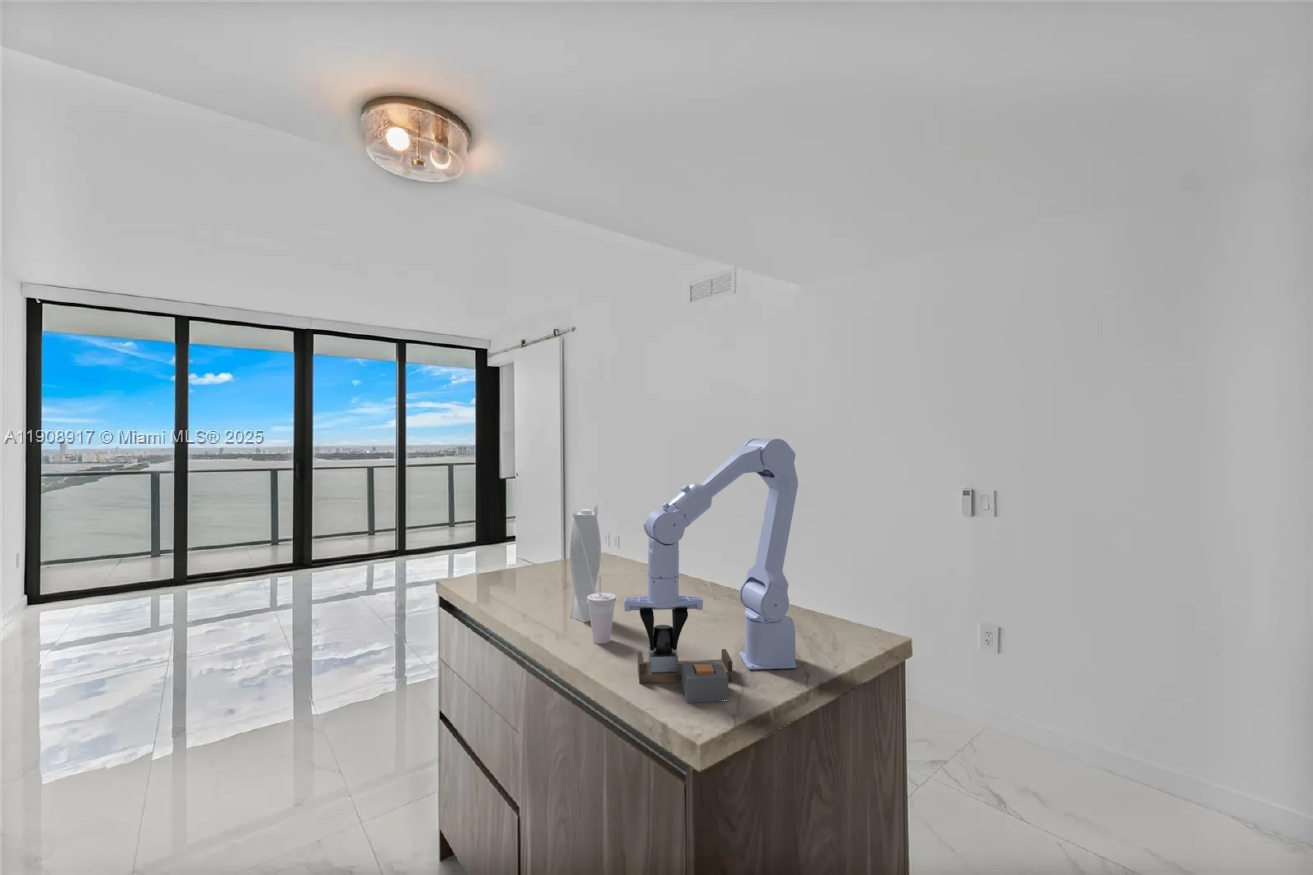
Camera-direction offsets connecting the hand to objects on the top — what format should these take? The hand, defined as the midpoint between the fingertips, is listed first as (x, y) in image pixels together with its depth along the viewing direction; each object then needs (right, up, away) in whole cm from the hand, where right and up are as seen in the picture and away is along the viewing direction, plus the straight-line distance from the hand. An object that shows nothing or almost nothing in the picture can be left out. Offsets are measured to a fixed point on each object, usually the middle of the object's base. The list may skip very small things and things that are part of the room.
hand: (663, 648), depth 106 cm
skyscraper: (-18, -5, +34) cm, 39 cm away
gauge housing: (+7, -5, -7) cm, 11 cm away
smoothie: (-13, -5, +18) cm, 23 cm away
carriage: (0, -3, 0) cm, 3 cm away
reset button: (+7, -4, -7) cm, 11 cm away
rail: (+4, -5, 0) cm, 6 cm away
